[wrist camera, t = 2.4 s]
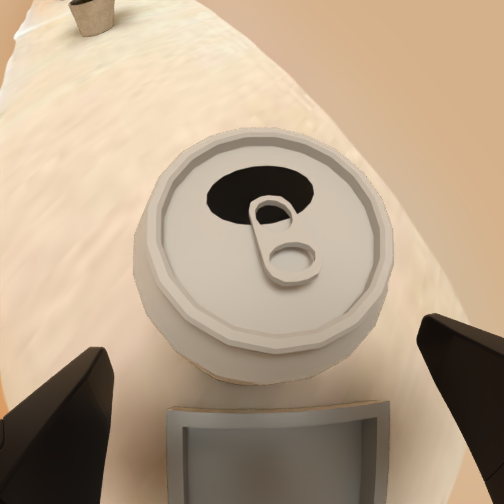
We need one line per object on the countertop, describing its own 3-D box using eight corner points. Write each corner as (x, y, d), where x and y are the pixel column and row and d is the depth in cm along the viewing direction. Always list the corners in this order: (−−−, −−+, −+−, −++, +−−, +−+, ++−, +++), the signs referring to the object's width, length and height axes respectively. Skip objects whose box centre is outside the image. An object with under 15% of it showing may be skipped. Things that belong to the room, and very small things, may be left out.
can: (282, 250, 20) (346, 101, 9) (320, 363, 17) (459, 316, 6) (166, 276, 19) (110, 130, 8) (195, 398, 16) (146, 424, 5)
